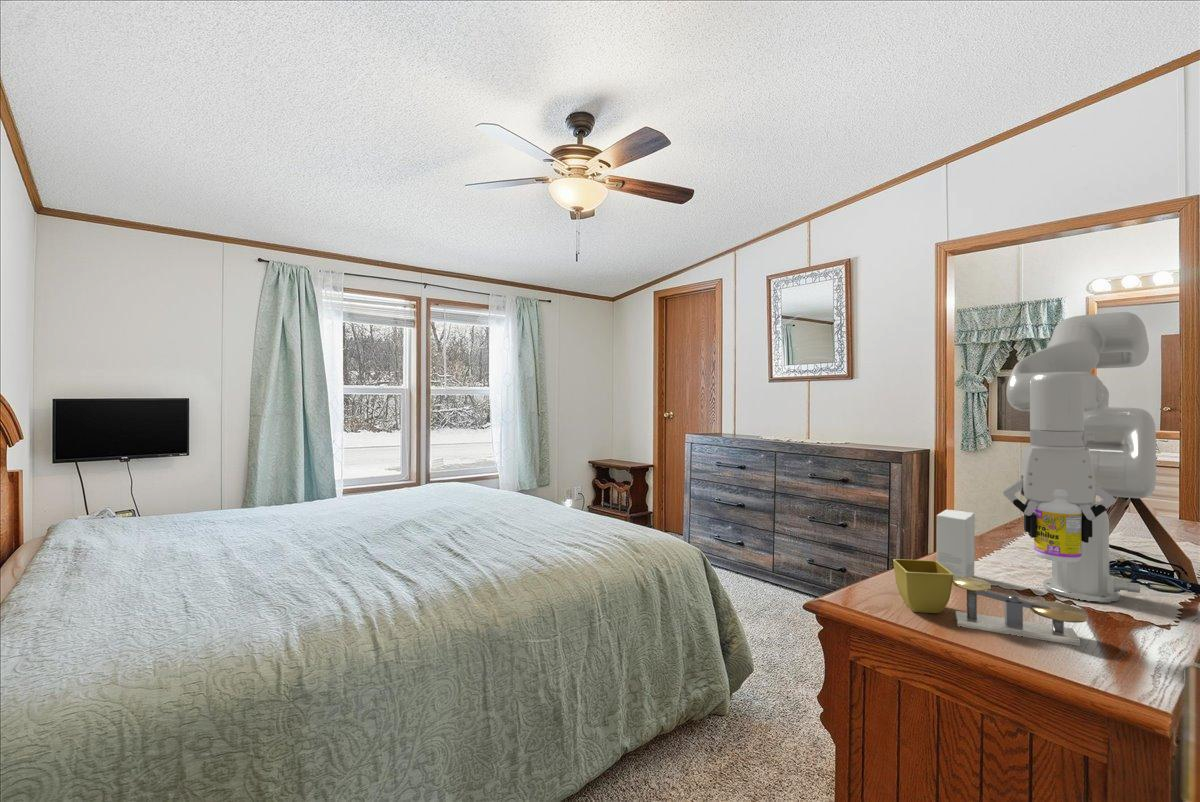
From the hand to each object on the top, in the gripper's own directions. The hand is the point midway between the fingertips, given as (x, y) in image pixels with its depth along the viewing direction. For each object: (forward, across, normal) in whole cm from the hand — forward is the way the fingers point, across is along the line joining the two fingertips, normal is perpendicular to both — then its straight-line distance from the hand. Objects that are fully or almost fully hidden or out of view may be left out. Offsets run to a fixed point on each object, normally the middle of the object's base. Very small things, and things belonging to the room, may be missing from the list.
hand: (1057, 537), depth 99 cm
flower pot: (+18, +21, -4) cm, 28 cm away
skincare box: (+18, +14, -30) cm, 38 cm away
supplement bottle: (+4, 0, 0) cm, 4 cm away
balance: (+18, +6, 0) cm, 19 cm away
